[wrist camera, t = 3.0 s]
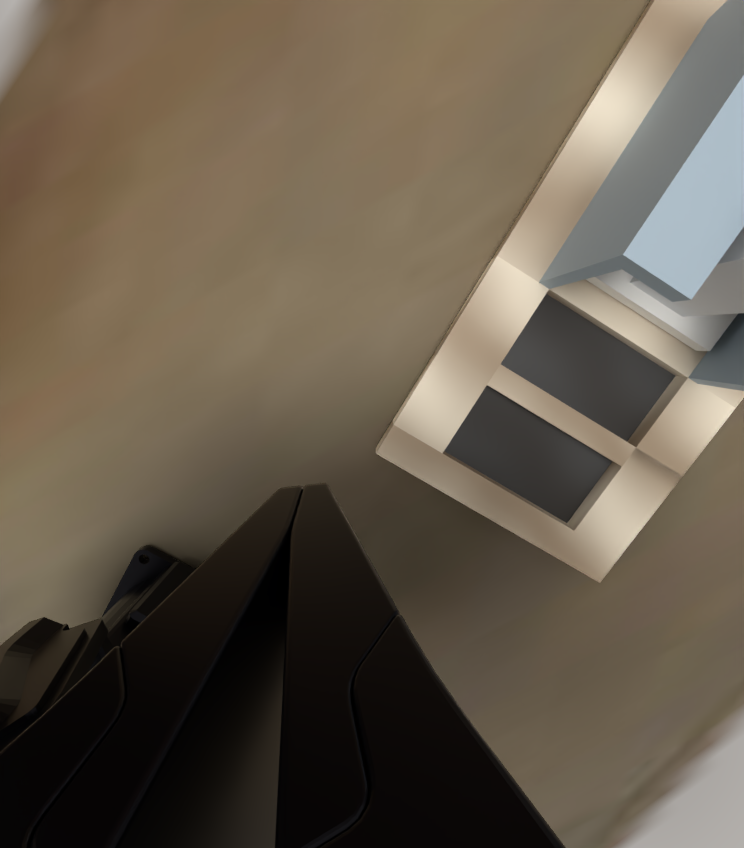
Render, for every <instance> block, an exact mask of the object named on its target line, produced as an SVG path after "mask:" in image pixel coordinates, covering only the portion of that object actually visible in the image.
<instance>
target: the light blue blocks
mask: <svg viewBox="0 0 744 848" xmlns="http://www.w3.org/2000/svg"><path fill="white" fill-rule="evenodd" d="M743 227H744V0H727V1H726V2H725V3H724V4H723V5H722V6H721V7H720V8H719V9H718V10H717V11H716V12H715V13H714V14H713V15H712V16H711V17H710V18H709V19H708V20H707V21H706V23H705V24H704V26H703V28H702V29H701V31H700V32H699V34H698V35H697V37H696V38H695V40H694V42H693V43H692V45H691V46H690V48H689V49H688V51H687V52H686V54H685V56H684V57H683V59H682V60H681V62H680V63H679V65H678V67H677V68H676V70H675V71H674V73H673V74H672V76H671V77H670V79H669V81H668V82H667V84H666V85H665V87H664V88H663V90H662V91H661V93H660V95H659V96H658V98H657V99H656V101H655V102H654V104H653V105H652V107H651V109H650V110H649V112H648V113H647V115H646V116H645V118H644V119H643V121H642V123H641V124H640V126H639V127H638V129H637V130H636V132H635V134H634V135H633V137H632V138H631V140H630V141H629V143H628V144H627V146H626V148H625V149H624V151H623V152H622V154H621V155H620V157H619V158H618V160H617V162H616V163H615V165H614V166H613V168H612V169H611V171H610V172H609V174H608V176H607V177H606V179H605V180H604V182H603V183H602V185H601V186H600V188H599V190H598V191H597V193H596V194H595V196H594V197H593V199H592V200H591V202H590V204H589V205H588V207H587V208H586V210H585V211H584V213H583V215H582V216H581V218H580V219H579V221H578V222H577V224H576V225H575V227H574V229H573V230H572V232H571V233H570V235H569V236H568V238H567V239H566V241H565V243H564V244H563V246H562V247H561V249H560V250H559V252H558V253H557V255H556V257H555V258H554V260H553V261H552V263H551V264H550V266H549V267H548V269H547V271H546V272H545V274H544V275H543V277H542V278H541V280H540V281H539V283H541V284H542V285H544V286H545V287H547V288H548V289H551V288H555V287H558V286H562V285H566V284H569V283H573V282H577V281H581V280H584V279H588V278H592V277H595V276H599V275H603V274H606V273H610V272H614V271H617V270H621V269H622V270H624V271H625V272H627V273H629V274H630V275H632V276H633V277H635V278H636V279H638V280H639V281H641V282H642V283H644V284H645V285H647V286H648V287H650V288H651V289H653V290H655V291H656V292H658V293H659V294H661V295H662V296H664V297H665V298H667V299H668V300H670V301H671V302H676V301H685V300H692V298H693V297H694V296H695V294H696V293H697V291H698V290H699V289H700V287H701V286H702V284H703V283H704V282H705V280H706V279H707V277H708V276H709V275H710V273H711V272H712V270H713V269H714V268H715V266H716V265H717V263H718V262H719V261H720V259H721V258H722V257H723V255H724V254H725V252H726V251H727V250H728V248H729V247H730V245H731V244H732V243H733V241H734V240H735V238H736V237H737V236H738V234H739V233H740V231H741V230H742V229H743ZM688 378H689V379H691V380H693V381H694V382H696V383H697V384H702V385H709V386H715V387H721V388H728V389H734V390H741V391H744V313H738V314H737V316H736V317H735V318H734V320H733V321H732V322H731V324H730V325H729V326H728V328H727V329H726V330H725V332H724V333H723V334H722V336H721V337H720V338H719V340H718V341H717V342H716V344H715V345H714V346H713V348H712V349H711V351H708V352H707V353H706V354H705V356H704V357H703V358H702V360H701V361H700V362H699V364H698V365H697V366H696V368H695V369H694V370H693V372H692V373H691V374H690V376H689V377H688Z"/></svg>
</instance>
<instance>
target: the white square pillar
mask: <svg viewBox="0 0 744 848" xmlns="http://www.w3.org/2000/svg"><path fill="white" fill-rule="evenodd" d="M585 280H587V281H589V282H590V283H592V284H593V285H595V286H596V287H598V288H599V289H601V290H602V291H604V292H606V293H607V294H609V295H610V296H612V297H613V298H615V299H616V300H618V301H620V302H621V303H623V304H624V305H626V306H627V307H629V308H630V309H632V310H633V311H635V312H637V313H638V314H640V315H641V316H643V317H644V318H646V319H647V320H649V321H650V322H652V323H654V324H655V325H657V326H658V327H660V328H661V329H663V330H664V331H666V332H668V333H669V334H671V335H672V336H674V337H675V338H677V339H678V340H680V341H681V342H683V343H685V344H686V345H688V346H689V347H691V348H692V349H694V350H695V351H711V349H712V348H713V346H714V345H715V344H716V342H717V341H718V340H719V338H720V337H721V336H722V334H723V333H724V332H725V330H726V329H727V328H728V326H729V325H730V324H731V322H732V321H733V320H734V318H735V317H736V316H737V314H738V313H744V227H743V229H742V230H741V231H740V233H739V234H738V236H737V237H736V238H735V240H734V241H733V243H732V244H731V245H730V247H729V248H728V250H727V251H726V252H725V254H724V255H723V257H722V258H721V259H720V261H719V262H718V263H717V265H716V266H715V268H714V269H713V270H712V272H711V273H710V275H709V276H708V277H707V279H706V280H705V282H704V283H703V284H702V286H701V287H700V289H699V290H698V291H697V293H696V294H695V296H694V297H693V298H692V300H685V301H676V302H671V301H670V300H668V299H667V298H665V297H664V296H662V295H661V294H659V293H658V292H656V291H655V290H653V289H651V288H650V287H648V286H647V285H645V284H644V283H642V282H641V281H639V280H638V279H636V278H635V277H633V276H632V275H630V274H629V273H627V272H625V271H624V270H622V269H621V270H617V271H614V272H610V273H606V274H603V275H599V276H595V277H592V278H588V279H585Z"/></svg>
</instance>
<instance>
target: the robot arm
mask: <svg viewBox="0 0 744 848" xmlns="http://www.w3.org/2000/svg"><path fill="white" fill-rule="evenodd" d="M143 554H144V555H147V556H148V557H149V560H146V559H145V558H144V556H143ZM0 848H565V846H564V845H563V844H562V842H561V841H560V840H559V838H558V837H557V836H556V834H555V833H554V832H553V830H552V829H551V828H550V826H549V825H548V824H547V822H546V821H545V820H544V818H543V817H542V816H541V815H540V813H539V812H538V811H537V809H536V808H535V807H534V805H533V804H532V803H531V801H530V800H529V799H528V797H527V796H526V795H525V793H524V792H523V791H522V789H521V788H520V787H519V785H518V784H517V783H516V781H515V780H514V779H513V777H512V776H511V775H510V773H509V772H508V771H507V769H506V768H505V767H504V765H503V764H502V763H501V761H500V760H499V759H498V758H497V756H496V755H495V754H494V752H493V751H492V750H491V748H490V747H489V746H488V744H487V743H486V742H485V740H484V739H483V738H482V736H481V735H480V734H479V732H478V731H477V730H476V728H475V727H474V726H473V724H472V723H471V722H470V720H469V719H468V718H467V716H466V715H465V714H464V712H463V711H462V709H461V708H460V707H459V705H458V704H457V702H456V701H455V699H454V698H453V697H452V695H451V694H450V692H449V691H448V690H447V688H446V687H445V685H444V684H443V682H442V681H441V680H440V678H439V677H438V675H437V674H436V672H435V671H434V669H433V667H432V666H431V664H430V663H429V661H428V659H427V658H426V656H425V654H424V653H423V651H422V649H421V648H420V646H419V645H418V643H417V641H416V640H415V638H414V636H413V634H412V633H411V631H410V629H409V627H408V626H407V624H406V622H405V620H404V618H403V617H402V616H401V615H400V613H399V611H398V609H397V607H396V606H395V604H394V602H393V600H392V598H391V597H390V595H389V593H388V591H387V589H386V588H385V586H384V584H383V582H382V581H381V579H380V577H379V575H378V573H377V572H376V570H375V568H374V566H373V564H372V563H371V561H370V559H369V557H368V555H367V554H366V552H365V550H364V548H363V547H362V545H361V543H360V541H359V539H358V538H357V536H356V534H355V532H354V530H353V529H352V527H351V525H350V523H349V521H348V520H347V518H346V516H345V514H344V513H343V511H342V509H341V507H340V505H339V504H338V502H337V500H336V498H335V496H334V495H333V493H332V491H331V489H330V488H329V486H328V485H327V484H326V483H320V484H311V485H306V486H305V487H304V488H303V487H301V486H293V487H284V488H280V489H279V490H277V491H276V492H275V493H274V494H273V495H272V496H271V497H270V498H269V499H268V500H267V501H266V502H265V503H264V504H263V505H262V506H261V507H260V508H259V509H258V510H257V511H256V512H255V513H254V514H253V515H252V516H251V517H250V518H249V519H247V520H246V521H245V522H244V523H243V524H242V525H241V526H240V527H239V528H238V529H237V530H236V531H235V532H234V533H233V534H232V535H231V536H230V537H229V538H228V539H227V540H226V541H225V542H224V543H223V544H222V545H221V546H220V547H219V548H218V549H217V550H216V551H214V552H213V553H212V554H211V555H210V556H209V557H208V558H207V559H206V560H205V561H204V562H203V563H202V564H201V565H200V566H199V567H198V568H197V569H194V568H192V567H190V566H189V565H187V564H185V563H183V562H180V561H178V560H176V559H174V558H172V557H170V556H168V555H167V554H165V553H163V552H161V551H159V550H157V549H155V548H153V547H151V546H144V547H142V548H140V549H139V550H138V551H137V552H136V553H135V554H134V556H133V558H132V560H131V562H130V564H129V566H128V568H127V570H126V572H125V574H124V575H123V577H122V579H121V581H120V583H119V585H118V587H117V589H116V591H115V593H114V595H113V597H112V598H111V600H110V602H109V604H108V606H107V608H106V610H105V612H104V614H103V616H102V618H101V619H97V620H94V621H91V622H88V623H85V624H82V625H79V626H76V627H73V628H70V629H69V627H68V625H67V624H65V625H62V624H60V623H57V622H55V621H52V620H50V619H47V618H45V617H43V618H40V619H37V620H34V621H31V622H29V623H27V624H26V625H25V626H24V627H23V628H21V629H20V630H19V631H18V632H16V633H15V634H14V635H13V636H12V637H10V638H9V639H8V640H7V641H5V642H4V643H3V644H2V645H1V646H0Z"/></svg>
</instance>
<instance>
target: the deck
mask: <svg viewBox="0 0 744 848" xmlns="http://www.w3.org/2000/svg"><path fill="white" fill-rule="evenodd" d="M726 1H727V0H650V2H649V4H648V5H647V7H646V9H645V10H644V12H643V14H642V15H641V17H640V18H639V20H638V22H637V23H636V25H635V27H634V28H633V30H632V31H631V33H630V35H629V36H628V38H627V40H626V41H625V43H624V44H623V46H622V48H621V49H620V51H619V53H618V54H617V56H616V57H615V59H614V61H613V62H612V64H611V66H610V67H609V69H608V71H607V72H606V74H605V75H604V77H603V79H602V80H601V82H600V84H599V85H598V87H597V88H596V90H595V92H594V93H593V95H592V97H591V98H590V100H589V101H588V103H587V105H586V106H585V108H584V110H583V111H582V113H581V115H580V116H579V118H578V119H577V121H576V123H575V124H574V126H573V128H572V129H571V131H570V132H569V134H568V136H567V137H566V139H565V141H564V142H563V144H562V145H561V147H560V149H559V150H558V152H557V154H556V155H555V157H554V159H553V160H552V162H551V163H550V165H549V167H548V168H547V170H546V172H545V173H544V175H543V176H542V178H541V180H540V181H539V183H538V185H537V186H536V188H535V189H534V191H533V193H532V194H531V196H530V198H529V199H528V201H527V202H526V204H525V206H524V207H523V209H522V211H521V212H520V214H519V216H518V217H517V219H516V220H515V222H514V224H513V225H512V227H511V229H510V230H509V232H508V233H507V235H506V237H505V238H504V240H503V242H502V243H501V245H500V246H499V248H498V250H497V251H496V253H495V255H494V256H493V258H492V260H491V261H490V263H489V264H488V266H487V268H486V269H485V271H484V273H483V274H482V276H481V277H480V279H479V281H478V282H477V284H476V286H475V287H474V289H473V290H472V292H471V294H470V295H469V297H468V299H467V300H466V302H465V304H464V305H463V307H462V308H461V310H460V312H459V313H458V315H457V317H456V318H455V320H454V321H453V323H452V325H451V326H450V328H449V330H448V331H447V333H446V334H445V336H444V338H443V339H442V341H441V343H440V344H439V346H438V347H437V349H436V351H435V352H434V354H433V356H432V357H431V359H430V361H429V362H428V364H427V365H426V367H425V369H424V370H423V372H422V374H421V375H420V377H419V378H418V380H417V382H416V383H415V385H414V387H413V388H412V390H411V391H410V393H409V395H408V396H407V398H406V400H405V401H404V403H403V405H402V406H401V408H400V409H399V411H398V413H397V414H396V416H395V418H394V419H393V421H392V422H391V424H390V426H389V427H388V429H387V431H386V432H385V434H384V435H383V437H382V439H381V440H380V442H379V444H378V445H377V447H376V454H377V455H379V456H381V457H383V458H384V459H386V460H388V461H390V462H391V463H393V464H395V465H396V466H398V467H400V468H402V469H403V470H405V471H407V472H409V473H410V474H412V475H414V476H415V477H417V478H419V479H421V480H422V481H424V482H426V483H428V484H429V485H431V486H433V487H435V488H436V489H438V490H440V491H441V492H443V493H445V494H447V495H448V496H450V497H452V498H454V499H455V500H457V501H459V502H461V503H462V504H464V505H466V506H467V507H469V508H471V509H473V510H474V511H476V512H478V513H480V514H481V515H483V516H485V517H486V518H488V519H490V520H492V521H493V522H495V523H497V524H499V525H500V526H502V527H504V528H506V529H507V530H509V531H511V532H512V533H514V534H516V535H518V536H519V537H521V538H523V539H525V540H526V541H528V542H530V543H531V544H533V545H535V546H537V547H538V548H540V549H542V550H544V551H545V552H547V553H549V554H551V555H552V556H554V557H556V558H557V559H559V560H561V561H563V562H564V563H566V564H568V565H570V566H571V567H573V568H575V569H576V570H578V571H580V572H582V573H583V574H585V575H587V576H589V577H590V578H592V579H594V580H596V581H597V582H599V583H600V582H601V581H602V579H603V578H604V577H605V575H606V574H607V573H608V572H609V570H610V569H611V568H612V566H613V565H614V564H615V563H616V561H617V560H618V559H619V557H620V556H621V555H622V554H623V552H624V551H625V550H626V548H627V547H628V546H629V545H630V543H631V542H632V541H633V539H634V538H635V537H636V536H637V534H638V533H639V532H640V530H641V529H642V528H643V527H644V525H645V524H646V523H647V521H648V520H649V519H650V518H651V516H652V515H653V514H654V512H655V511H656V510H657V509H658V507H659V506H660V505H661V503H662V502H663V501H664V500H665V498H666V497H667V496H668V494H669V493H670V492H671V491H672V489H673V488H674V487H675V485H676V484H677V483H678V482H679V480H680V479H681V478H682V476H683V475H684V474H685V472H686V471H687V470H688V469H689V467H690V466H691V465H692V463H693V462H694V461H695V460H696V458H697V457H698V456H699V454H700V453H701V452H702V451H703V449H704V448H705V447H706V445H707V444H708V443H709V442H710V440H711V439H712V438H713V436H714V435H715V434H716V433H717V431H718V430H719V429H720V427H721V426H722V425H723V424H724V422H725V421H726V420H727V418H728V417H729V416H730V415H731V413H732V412H733V411H734V409H735V408H736V407H737V406H738V404H739V403H740V402H741V400H742V399H743V398H744V391H741V390H734V389H728V388H721V387H715V386H709V385H702V384H697V383H696V382H694V381H693V380H691V379H689V378H688V377H689V376H690V374H691V373H692V372H693V370H694V369H695V368H696V366H697V365H698V364H699V362H700V361H701V360H702V358H703V357H704V356H705V354H706V353H707V352H708V351H695V350H694V349H692V348H691V347H689V346H688V345H686V344H685V343H683V342H681V341H680V340H678V339H677V338H675V337H674V336H672V335H671V334H669V333H668V332H666V331H664V330H663V329H661V328H660V327H658V326H657V325H655V324H654V323H652V322H650V321H649V320H647V319H646V318H644V317H643V316H641V315H640V314H638V313H637V312H635V311H633V310H632V309H630V308H629V307H627V306H626V305H624V304H623V303H621V302H620V301H618V300H616V299H615V298H613V297H612V296H610V295H609V294H607V293H606V292H604V291H602V290H601V289H599V288H598V287H596V286H595V285H593V284H592V283H590V282H589V281H587V280H585V279H584V280H581V281H577V282H573V283H569V284H566V285H562V286H558V287H555V288H551V289H548V288H547V287H545V286H544V285H542V284H541V283H539V281H540V280H541V278H542V277H543V275H544V274H545V272H546V271H547V269H548V267H549V266H550V264H551V263H552V261H553V260H554V258H555V257H556V255H557V253H558V252H559V250H560V249H561V247H562V246H563V244H564V243H565V241H566V239H567V238H568V236H569V235H570V233H571V232H572V230H573V229H574V227H575V225H576V224H577V222H578V221H579V219H580V218H581V216H582V215H583V213H584V211H585V210H586V208H587V207H588V205H589V204H590V202H591V200H592V199H593V197H594V196H595V194H596V193H597V191H598V190H599V188H600V186H601V185H602V183H603V182H604V180H605V179H606V177H607V176H608V174H609V172H610V171H611V169H612V168H613V166H614V165H615V163H616V162H617V160H618V158H619V157H620V155H621V154H622V152H623V151H624V149H625V148H626V146H627V144H628V143H629V141H630V140H631V138H632V137H633V135H634V134H635V132H636V130H637V129H638V127H639V126H640V124H641V123H642V121H643V119H644V118H645V116H646V115H647V113H648V112H649V110H650V109H651V107H652V105H653V104H654V102H655V101H656V99H657V98H658V96H659V95H660V93H661V91H662V90H663V88H664V87H665V85H666V84H667V82H668V81H669V79H670V77H671V76H672V74H673V73H674V71H675V70H676V68H677V67H678V65H679V63H680V62H681V60H682V59H683V57H684V56H685V54H686V52H687V51H688V49H689V48H690V46H691V45H692V43H693V42H694V40H695V38H696V37H697V35H698V34H699V32H700V31H701V29H702V28H703V26H704V24H705V23H706V21H707V20H708V19H709V18H710V17H711V16H712V15H713V14H714V13H715V12H716V11H717V10H718V9H719V8H720V7H721V6H722V5H723V4H724V3H725V2H726Z"/></svg>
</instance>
